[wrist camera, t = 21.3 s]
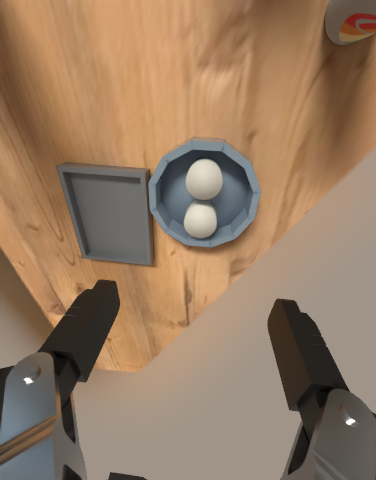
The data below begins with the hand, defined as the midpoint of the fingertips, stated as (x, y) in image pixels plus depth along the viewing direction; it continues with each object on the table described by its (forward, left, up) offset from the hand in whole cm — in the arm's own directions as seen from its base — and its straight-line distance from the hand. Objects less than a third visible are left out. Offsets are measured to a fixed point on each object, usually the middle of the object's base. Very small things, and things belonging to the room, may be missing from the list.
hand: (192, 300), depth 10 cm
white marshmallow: (0, -6, -25) cm, 26 cm away
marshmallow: (0, 0, -25) cm, 25 cm away
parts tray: (-16, -9, -26) cm, 32 cm away
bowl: (0, -3, -26) cm, 26 cm away
